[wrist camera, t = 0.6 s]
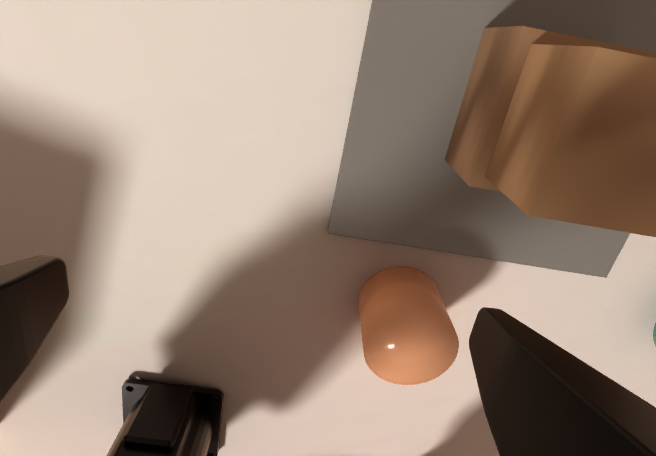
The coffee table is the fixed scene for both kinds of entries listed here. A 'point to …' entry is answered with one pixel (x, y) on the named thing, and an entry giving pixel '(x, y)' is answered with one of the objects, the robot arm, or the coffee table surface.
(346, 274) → the coffee table surface
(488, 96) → the base block
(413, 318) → the peach rounded capsule
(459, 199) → the mat
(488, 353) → the robot arm
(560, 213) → the top block
